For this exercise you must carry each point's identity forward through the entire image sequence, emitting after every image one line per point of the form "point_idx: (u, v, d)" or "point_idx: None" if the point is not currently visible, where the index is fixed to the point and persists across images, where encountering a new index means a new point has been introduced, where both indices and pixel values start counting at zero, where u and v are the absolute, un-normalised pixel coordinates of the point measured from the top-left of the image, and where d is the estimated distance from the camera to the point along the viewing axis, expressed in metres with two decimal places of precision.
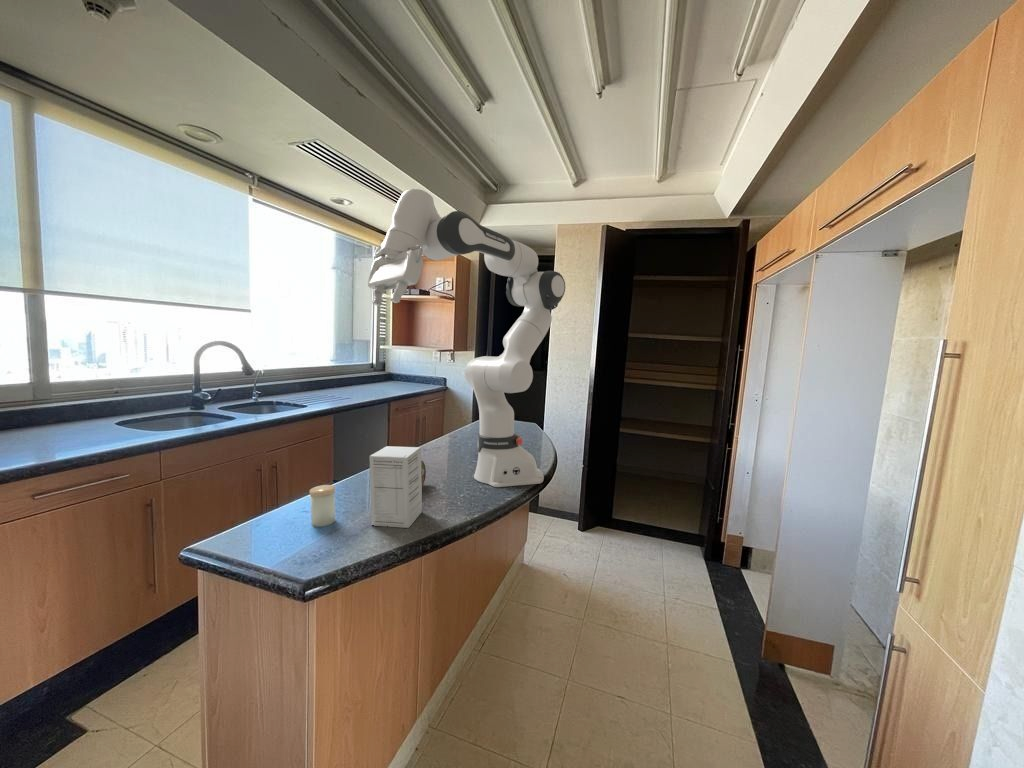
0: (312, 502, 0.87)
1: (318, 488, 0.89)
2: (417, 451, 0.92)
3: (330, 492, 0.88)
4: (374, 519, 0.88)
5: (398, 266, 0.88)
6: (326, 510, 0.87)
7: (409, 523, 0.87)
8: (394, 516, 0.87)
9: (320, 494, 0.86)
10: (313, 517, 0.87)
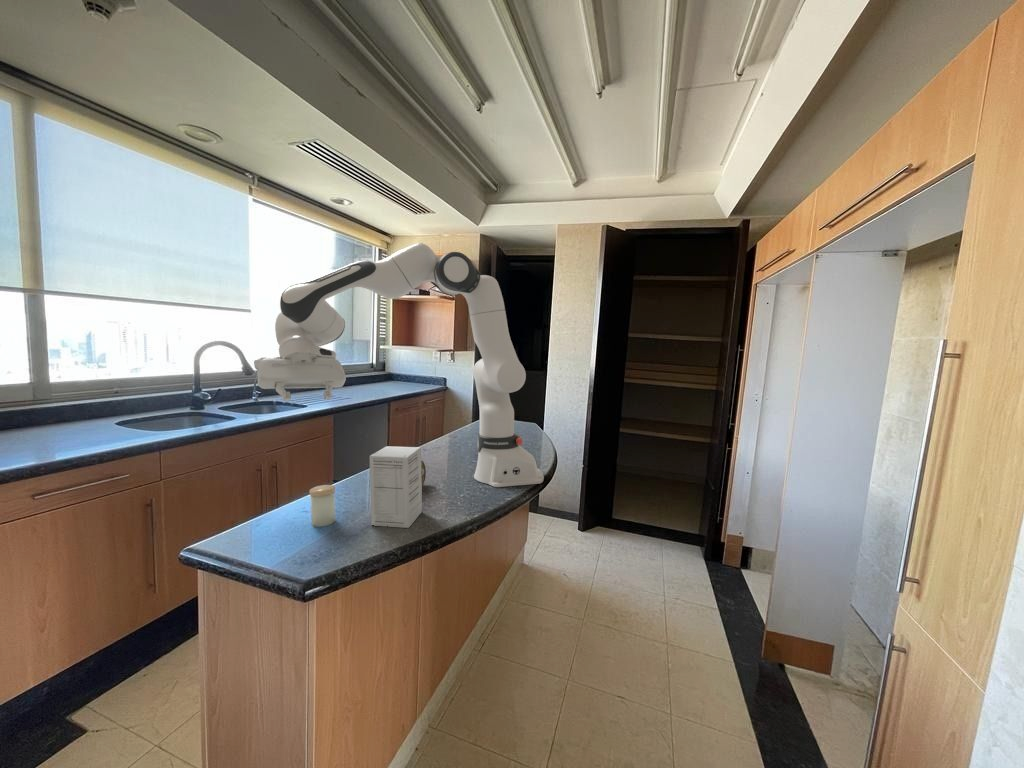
0: (312, 502, 0.87)
1: (318, 488, 0.89)
2: (417, 451, 0.92)
3: (330, 492, 0.88)
4: (374, 519, 0.88)
5: None
6: (326, 510, 0.87)
7: (409, 523, 0.87)
8: (394, 516, 0.87)
9: (320, 494, 0.86)
10: (313, 517, 0.87)
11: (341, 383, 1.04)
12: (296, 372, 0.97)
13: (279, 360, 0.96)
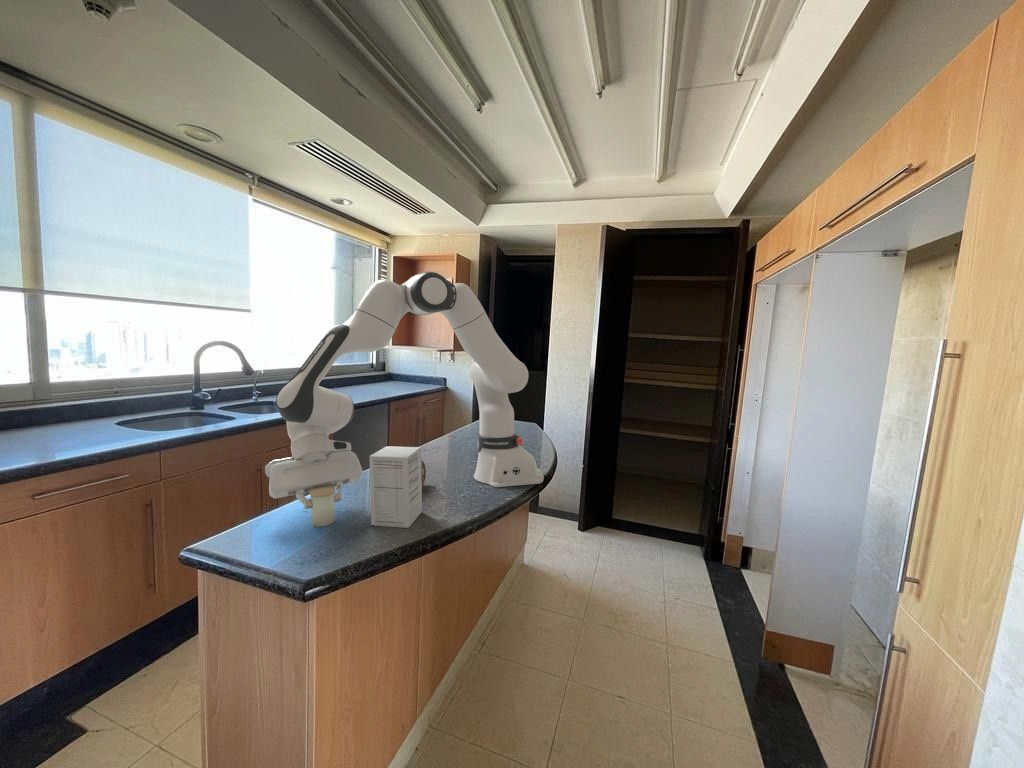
0: (312, 502, 0.87)
1: (318, 488, 0.89)
2: (417, 451, 0.92)
3: (330, 492, 0.88)
4: (374, 519, 0.88)
5: None
6: (326, 510, 0.87)
7: (409, 523, 0.87)
8: (394, 516, 0.87)
9: (320, 494, 0.86)
10: (313, 517, 0.87)
11: (357, 478, 0.96)
12: (310, 474, 0.90)
13: (291, 463, 0.90)
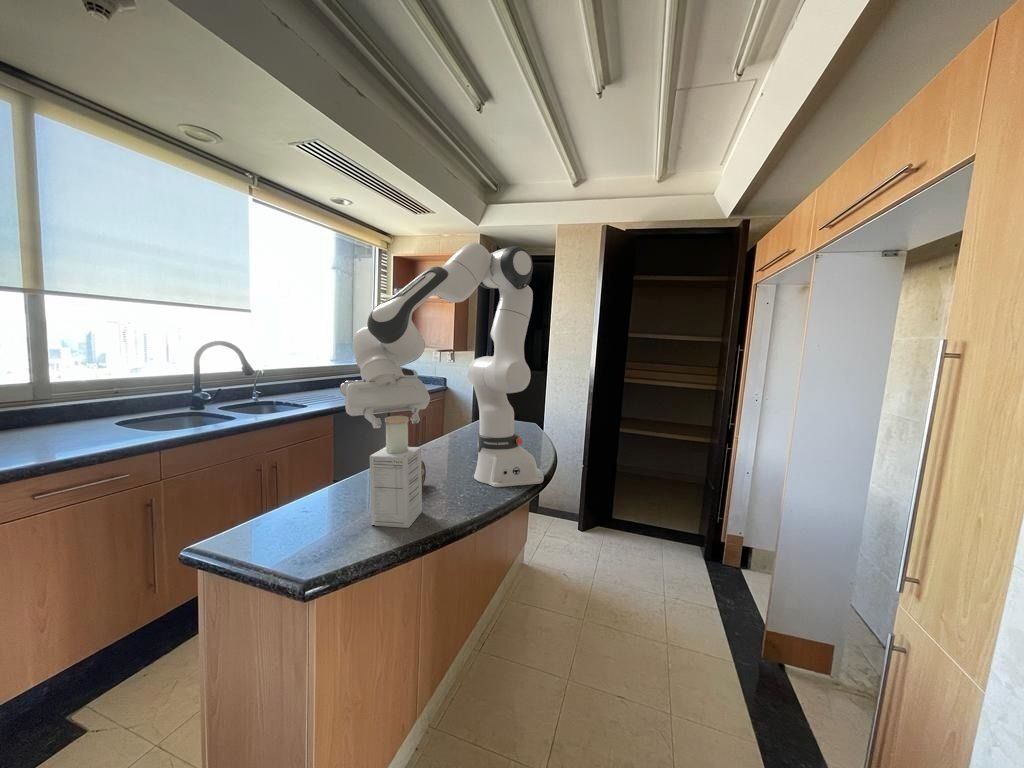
0: (388, 429, 0.88)
1: (392, 417, 0.90)
2: (417, 451, 0.92)
3: (405, 420, 0.89)
4: (374, 519, 0.88)
5: None
6: (401, 438, 0.88)
7: (409, 523, 0.87)
8: (394, 516, 0.87)
9: (397, 421, 0.87)
10: (389, 444, 0.88)
11: (425, 405, 0.97)
12: (383, 395, 0.91)
13: (365, 384, 0.90)
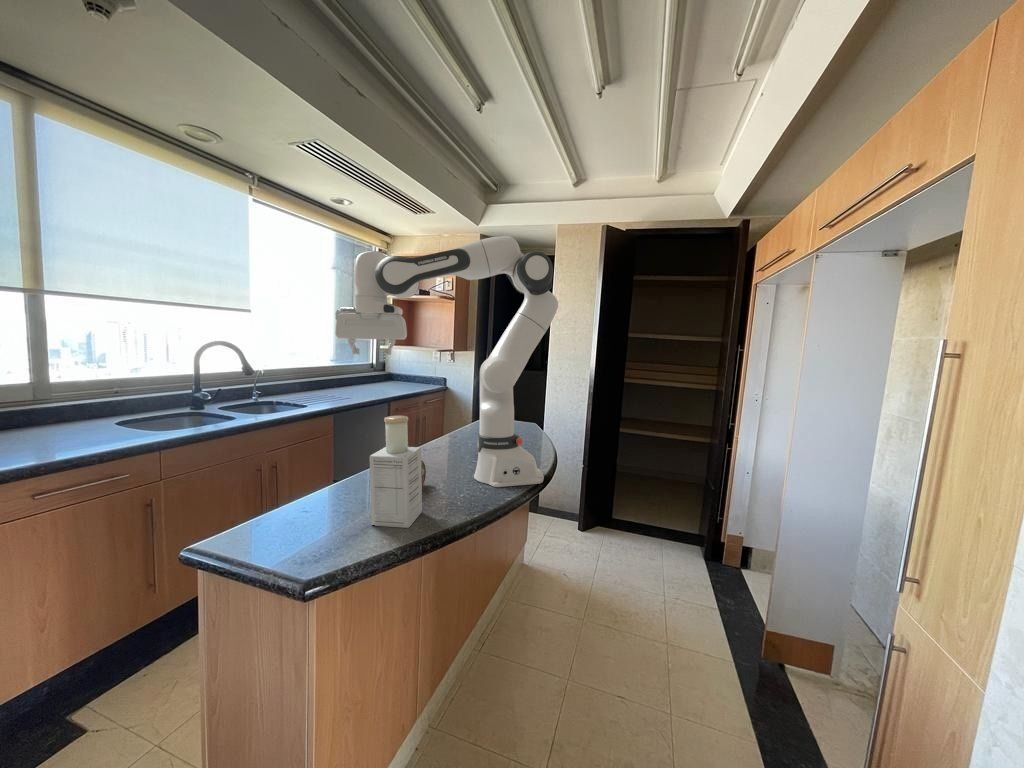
0: (387, 429, 0.88)
1: (392, 417, 0.90)
2: (417, 451, 0.92)
3: (405, 419, 0.89)
4: (374, 519, 0.88)
5: None
6: (401, 437, 0.88)
7: (409, 523, 0.87)
8: (394, 516, 0.87)
9: (396, 420, 0.87)
10: (388, 444, 0.88)
11: (401, 339, 1.14)
12: (363, 329, 1.11)
13: (351, 316, 1.11)
